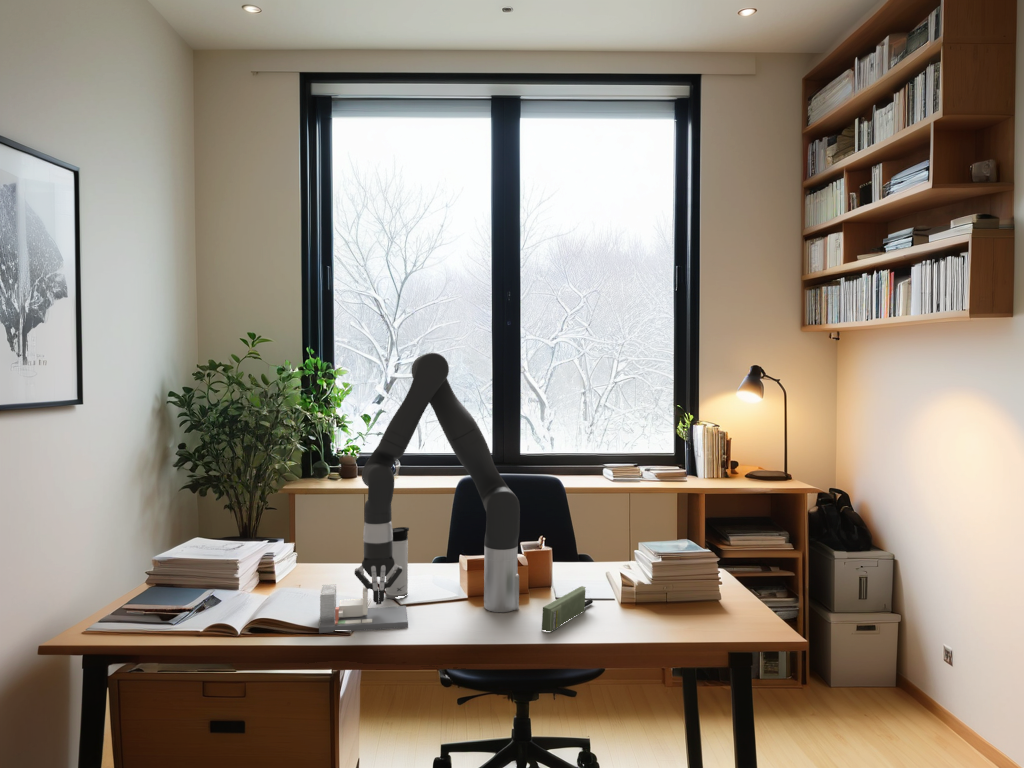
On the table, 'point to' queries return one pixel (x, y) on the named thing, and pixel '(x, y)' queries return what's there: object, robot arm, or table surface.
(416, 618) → the table surface
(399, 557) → the travel mug
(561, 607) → the handheld radio
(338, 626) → the gauge base
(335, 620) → the drag pointer
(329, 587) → the grey block
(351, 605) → the white block
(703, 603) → the table surface
